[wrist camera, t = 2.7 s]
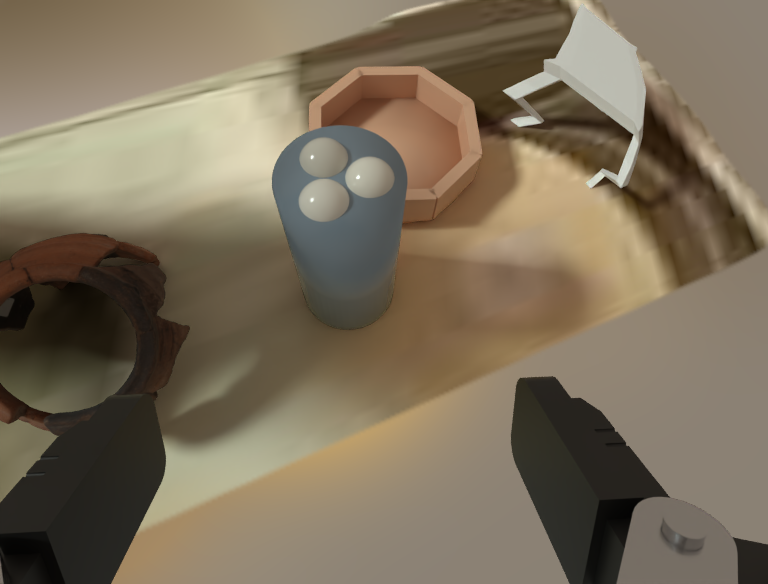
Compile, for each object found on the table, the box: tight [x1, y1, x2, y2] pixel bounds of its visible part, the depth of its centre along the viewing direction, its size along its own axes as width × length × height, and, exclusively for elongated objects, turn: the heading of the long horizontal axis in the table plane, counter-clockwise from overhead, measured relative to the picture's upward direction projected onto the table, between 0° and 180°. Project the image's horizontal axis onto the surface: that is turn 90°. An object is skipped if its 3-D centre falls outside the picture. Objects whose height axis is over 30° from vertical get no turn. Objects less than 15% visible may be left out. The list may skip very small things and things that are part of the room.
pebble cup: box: [272, 125, 408, 330], centre depth 22 cm, size 5×5×11 cm
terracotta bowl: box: [309, 66, 483, 224], centre depth 29 cm, size 10×10×2 cm
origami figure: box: [503, 3, 646, 189], centre depth 30 cm, size 12×8×5 cm
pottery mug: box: [0, 233, 190, 436], centre depth 23 cm, size 12×10×8 cm
